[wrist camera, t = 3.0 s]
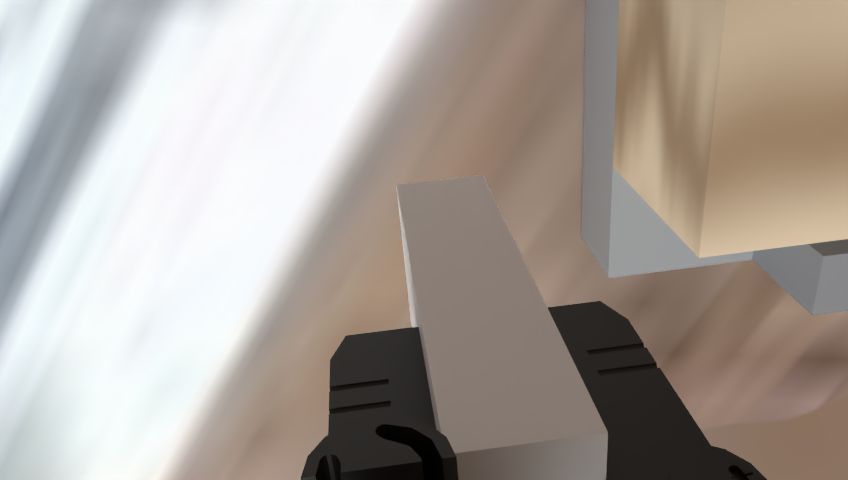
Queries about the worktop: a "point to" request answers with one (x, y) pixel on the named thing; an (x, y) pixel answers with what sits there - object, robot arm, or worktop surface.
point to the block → (736, 119)
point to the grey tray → (642, 227)
